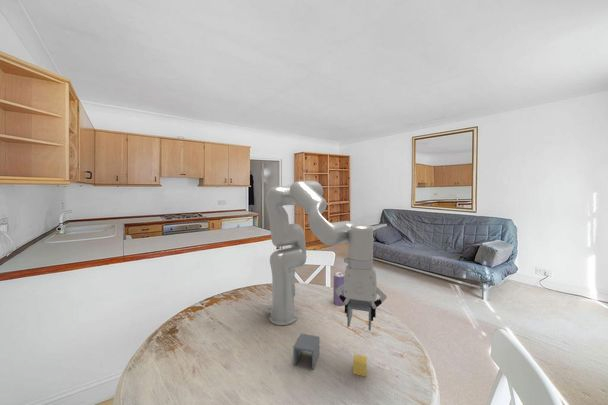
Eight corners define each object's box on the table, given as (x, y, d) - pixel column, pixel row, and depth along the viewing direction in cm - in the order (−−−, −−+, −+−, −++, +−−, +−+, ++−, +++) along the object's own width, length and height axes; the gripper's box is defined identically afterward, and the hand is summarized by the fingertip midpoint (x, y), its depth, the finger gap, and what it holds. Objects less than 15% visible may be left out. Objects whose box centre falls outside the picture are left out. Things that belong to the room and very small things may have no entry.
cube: (353, 374, 79) (353, 362, 79) (354, 365, 83) (354, 353, 83) (366, 376, 78) (366, 364, 78) (366, 367, 82) (366, 356, 81)
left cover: (293, 365, 83) (293, 346, 83) (300, 350, 91) (300, 333, 90) (313, 369, 81) (313, 350, 81) (319, 354, 89) (319, 336, 88)
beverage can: (344, 306, 124) (345, 276, 123) (332, 305, 125) (332, 276, 124) (345, 300, 130) (345, 272, 129) (333, 299, 131) (333, 272, 130)
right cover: (347, 326, 78) (347, 306, 77) (350, 314, 85) (350, 295, 85) (370, 330, 75) (370, 310, 75) (371, 317, 83) (371, 298, 83)
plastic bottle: (283, 292, 141) (283, 257, 139) (295, 292, 141) (295, 257, 140) (283, 297, 134) (283, 261, 133) (296, 297, 135) (295, 260, 133)
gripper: (331, 264, 78) (331, 318, 79) (389, 269, 73) (388, 327, 74) (335, 257, 85) (335, 307, 86) (389, 262, 80) (388, 315, 81)
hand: (360, 316), depth 80 cm, fingers closed on right cover, 7 cm apart
